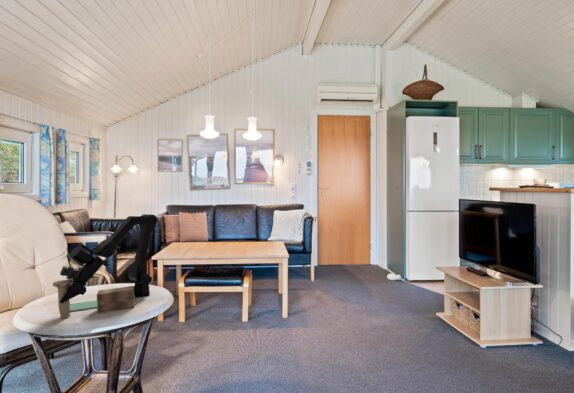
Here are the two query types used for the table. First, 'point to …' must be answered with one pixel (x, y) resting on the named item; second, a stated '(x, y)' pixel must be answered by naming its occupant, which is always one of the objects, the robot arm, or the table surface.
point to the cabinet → (115, 299)
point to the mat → (83, 306)
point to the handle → (62, 288)
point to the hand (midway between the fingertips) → (60, 301)
